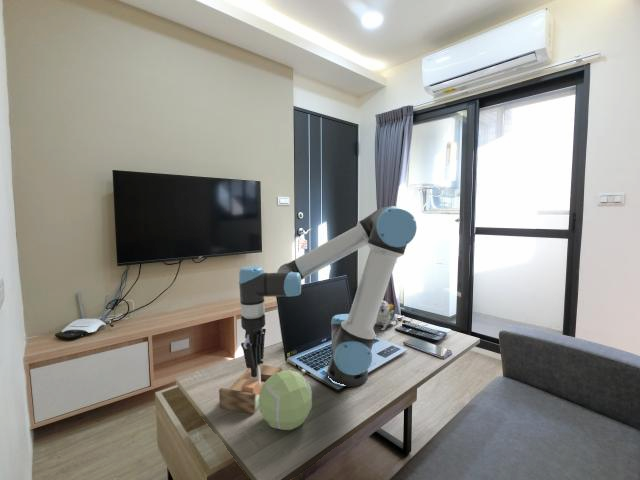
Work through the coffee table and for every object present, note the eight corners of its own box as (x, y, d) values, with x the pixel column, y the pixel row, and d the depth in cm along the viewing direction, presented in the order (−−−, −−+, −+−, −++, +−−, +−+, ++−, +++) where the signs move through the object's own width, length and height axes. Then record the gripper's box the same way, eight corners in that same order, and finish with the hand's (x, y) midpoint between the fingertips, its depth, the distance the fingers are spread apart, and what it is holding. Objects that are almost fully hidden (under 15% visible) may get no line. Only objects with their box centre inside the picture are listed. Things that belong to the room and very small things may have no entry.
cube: (259, 392, 100) (258, 380, 99) (253, 399, 96) (253, 387, 95) (248, 390, 101) (247, 379, 100) (242, 398, 97) (241, 386, 96)
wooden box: (282, 375, 115) (281, 359, 115) (254, 413, 94) (253, 395, 93) (253, 371, 118) (252, 356, 118) (219, 407, 97) (219, 389, 96)
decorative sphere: (274, 451, 79) (272, 396, 78) (252, 418, 92) (250, 371, 90) (322, 427, 88) (321, 378, 86) (296, 400, 100) (295, 356, 98)
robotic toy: (365, 328, 159) (365, 300, 157) (383, 319, 171) (384, 293, 170) (386, 335, 150) (386, 305, 148) (404, 325, 162) (404, 297, 161)
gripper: (251, 307, 105) (255, 372, 108) (231, 321, 93) (235, 394, 95) (272, 308, 104) (274, 374, 106) (254, 323, 91) (257, 397, 93)
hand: (256, 384), depth 101 cm, fingers closed
